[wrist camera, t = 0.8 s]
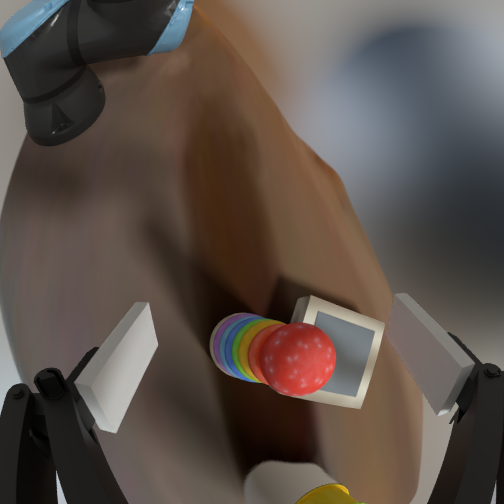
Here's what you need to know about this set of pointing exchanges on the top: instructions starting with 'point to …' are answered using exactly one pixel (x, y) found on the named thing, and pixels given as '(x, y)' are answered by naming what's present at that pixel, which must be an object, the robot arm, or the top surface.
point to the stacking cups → (328, 495)
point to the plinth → (343, 349)
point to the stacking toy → (273, 353)
